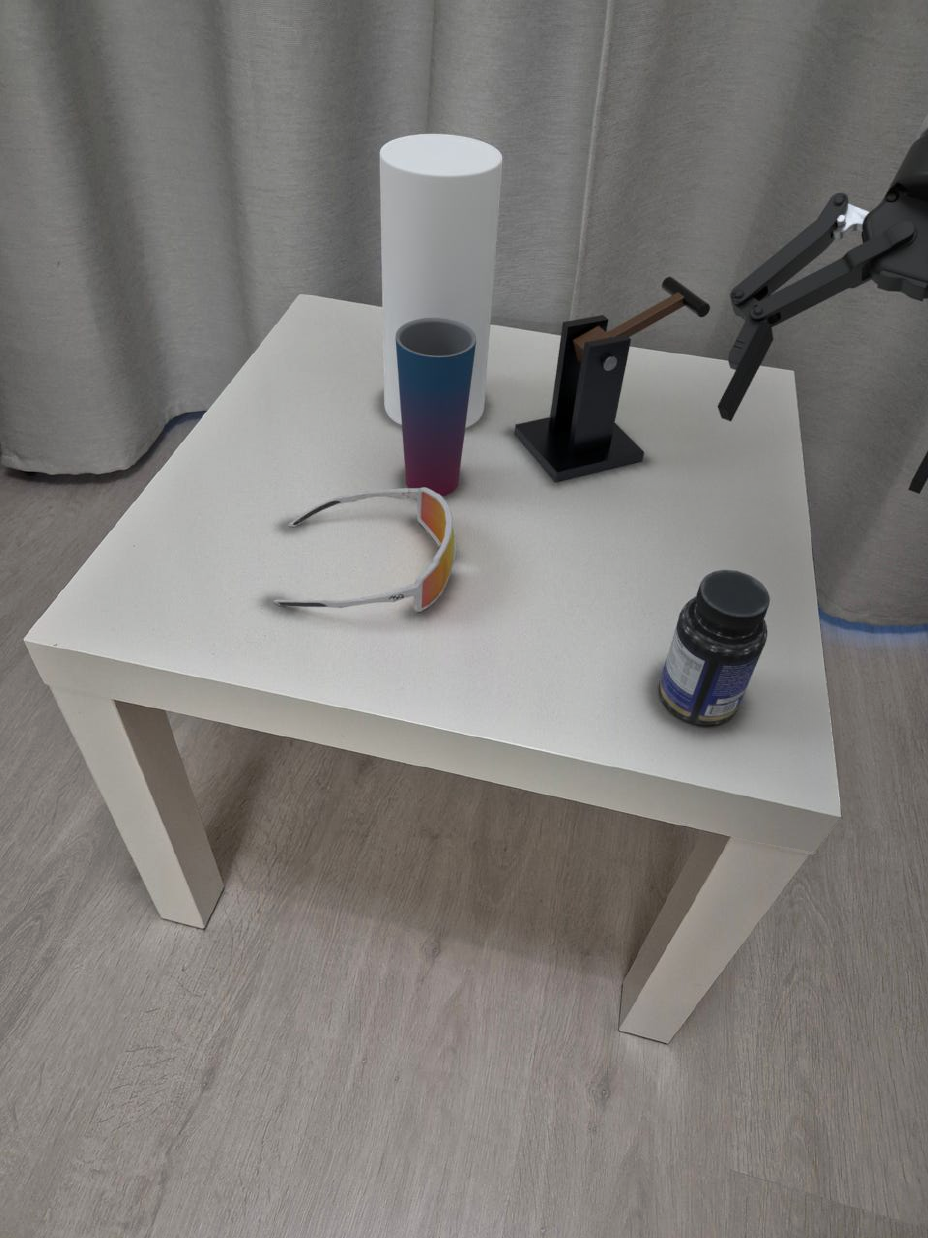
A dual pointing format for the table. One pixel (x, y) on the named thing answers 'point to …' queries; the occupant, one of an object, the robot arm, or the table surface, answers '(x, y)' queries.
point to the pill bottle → (715, 648)
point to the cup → (434, 399)
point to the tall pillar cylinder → (438, 245)
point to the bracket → (583, 408)
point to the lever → (649, 315)
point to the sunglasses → (433, 579)
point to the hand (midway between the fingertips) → (815, 449)
